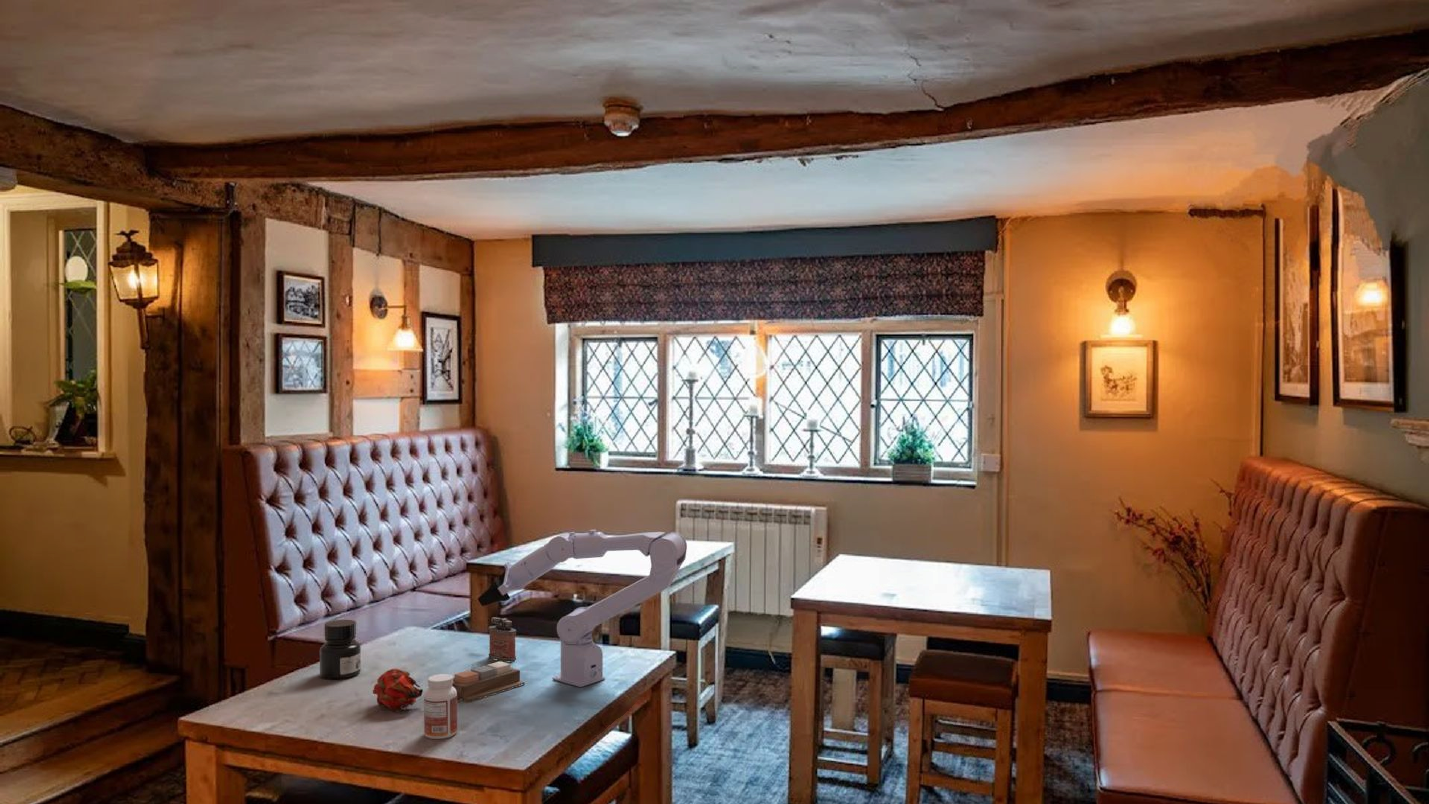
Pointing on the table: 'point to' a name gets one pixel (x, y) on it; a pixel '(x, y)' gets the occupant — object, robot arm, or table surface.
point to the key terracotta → (466, 677)
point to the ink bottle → (340, 651)
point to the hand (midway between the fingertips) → (486, 596)
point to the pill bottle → (440, 707)
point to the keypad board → (488, 685)
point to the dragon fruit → (396, 689)
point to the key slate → (484, 672)
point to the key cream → (500, 667)
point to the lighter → (502, 640)
